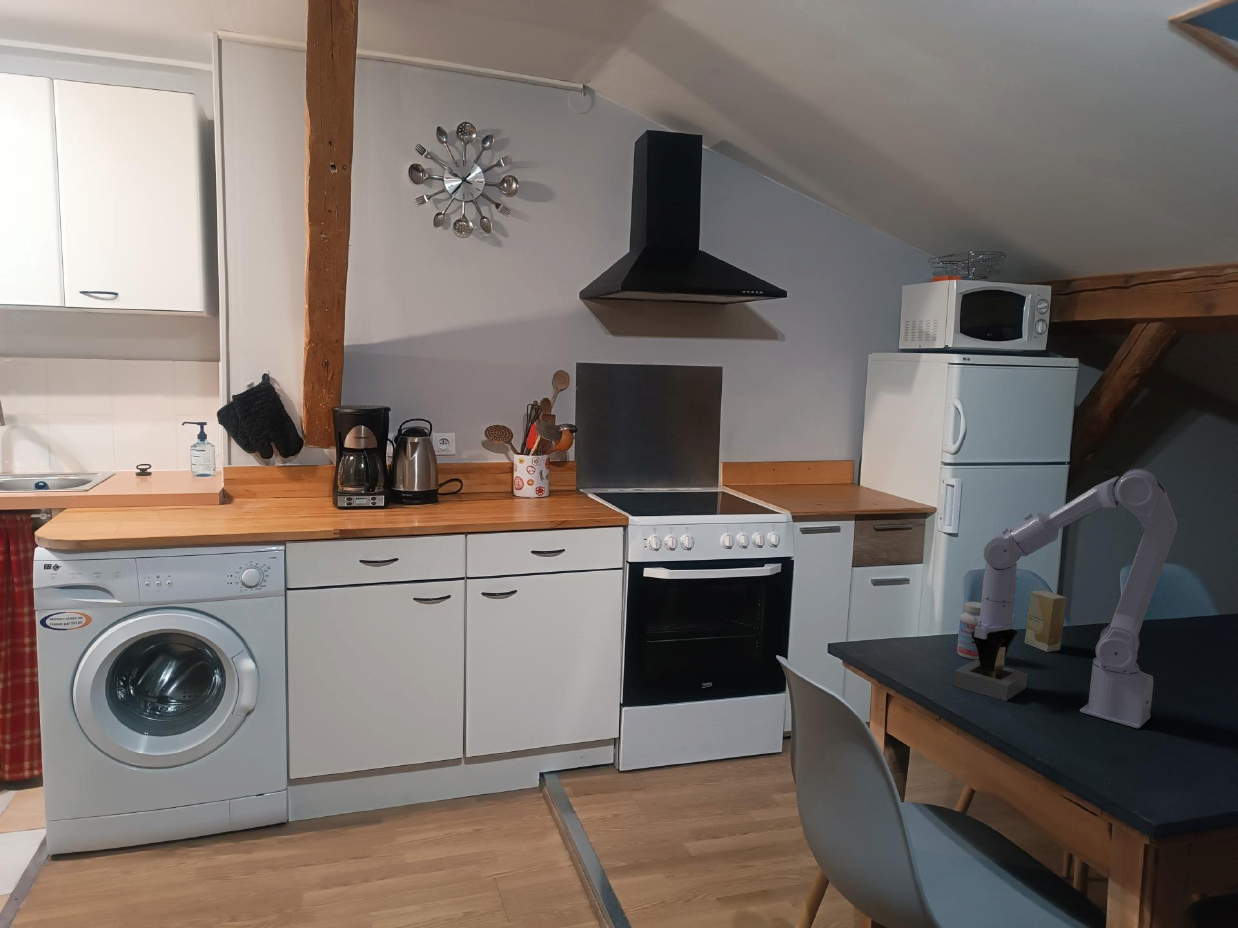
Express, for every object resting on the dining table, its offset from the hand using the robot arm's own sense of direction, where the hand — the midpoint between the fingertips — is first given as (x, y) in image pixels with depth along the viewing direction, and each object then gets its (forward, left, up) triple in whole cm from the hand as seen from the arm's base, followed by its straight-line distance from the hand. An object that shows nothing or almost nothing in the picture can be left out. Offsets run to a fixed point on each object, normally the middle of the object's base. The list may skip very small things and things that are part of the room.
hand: (991, 667), depth 167 cm
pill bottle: (+10, -16, -4) cm, 19 cm away
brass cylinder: (0, 0, -2) cm, 2 cm away
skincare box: (+2, -35, -4) cm, 35 cm away
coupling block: (0, 0, -4) cm, 4 cm away
